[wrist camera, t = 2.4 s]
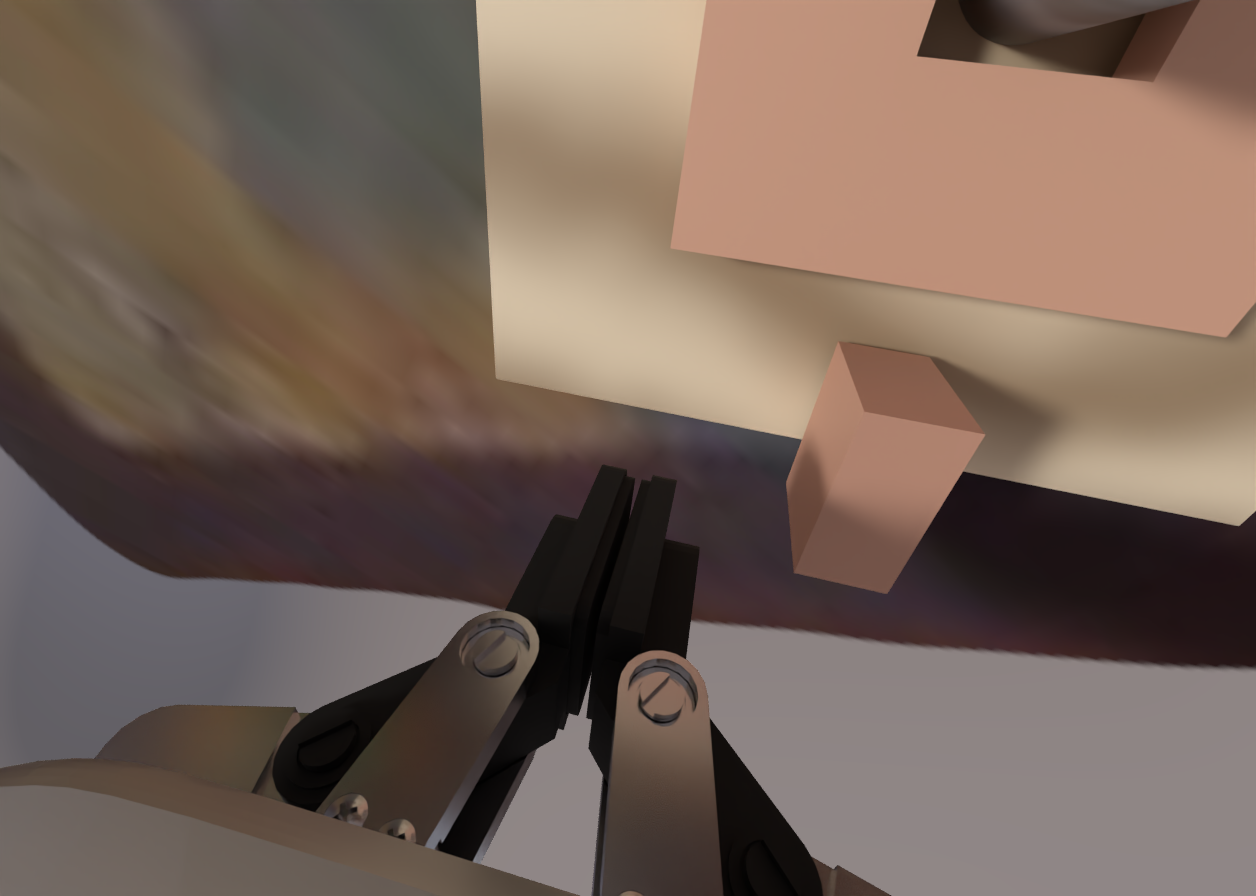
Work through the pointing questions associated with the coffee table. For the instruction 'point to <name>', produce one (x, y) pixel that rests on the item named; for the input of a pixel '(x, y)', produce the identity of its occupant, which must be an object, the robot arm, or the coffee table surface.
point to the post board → (812, 301)
